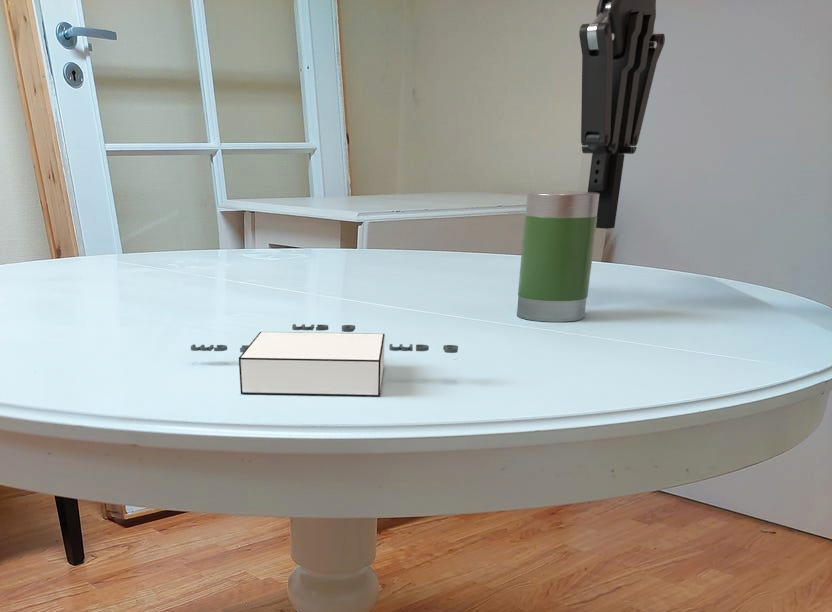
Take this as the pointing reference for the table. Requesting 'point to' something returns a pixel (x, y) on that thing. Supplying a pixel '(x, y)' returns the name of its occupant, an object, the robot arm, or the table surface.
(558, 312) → the can
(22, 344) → the table surface
